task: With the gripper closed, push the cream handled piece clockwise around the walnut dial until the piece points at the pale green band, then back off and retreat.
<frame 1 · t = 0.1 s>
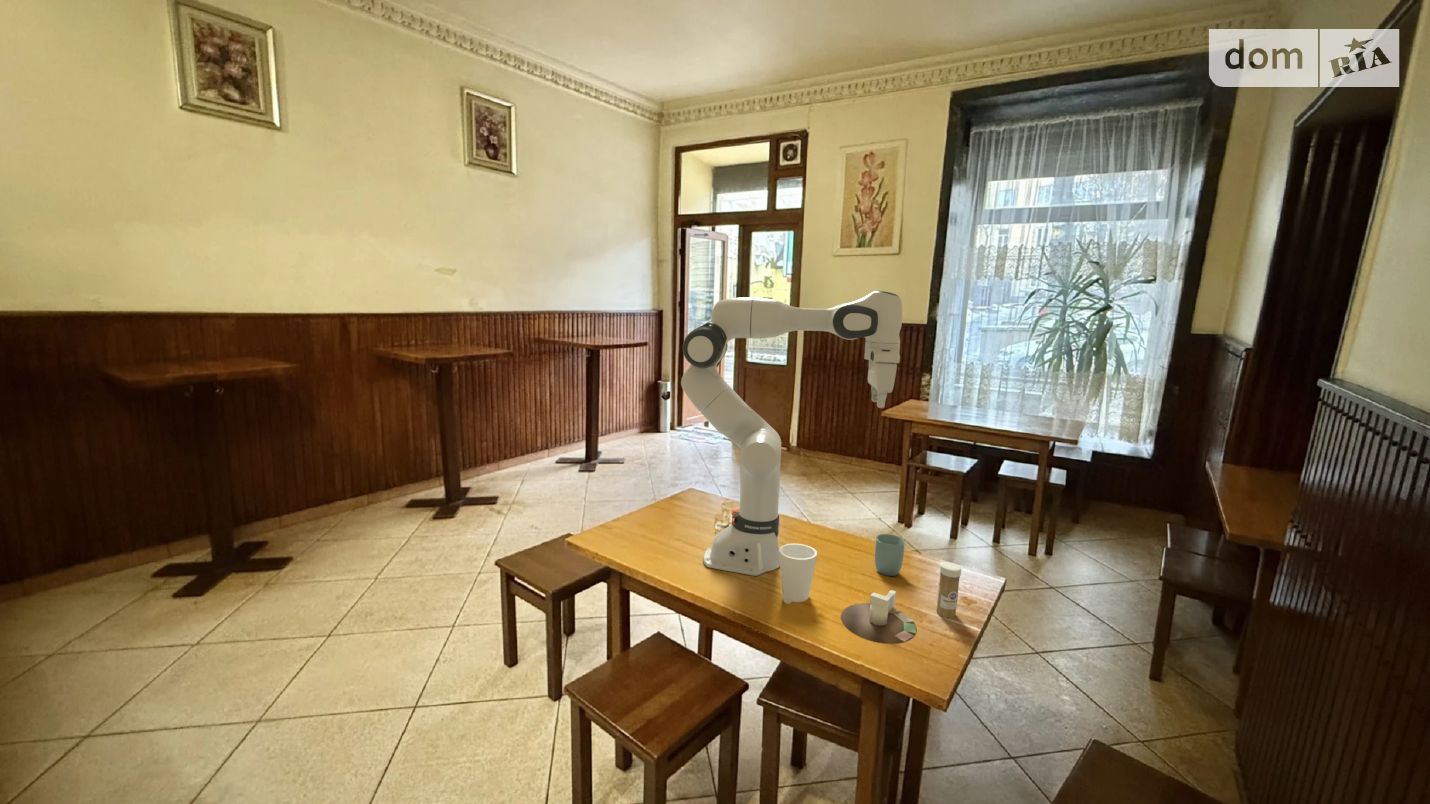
hand: (877, 404, 151), 48 cm above the table, fingers open, 8 cm apart
sprinkles bottle: (945, 618, 135), on the table
cup: (887, 573, 158), on the table
cream handled piece: (884, 602, 133), point 5 cm above the table, hinge at 60.0°
dial: (877, 626, 131), on the table
foam cup: (795, 600, 142), on the table
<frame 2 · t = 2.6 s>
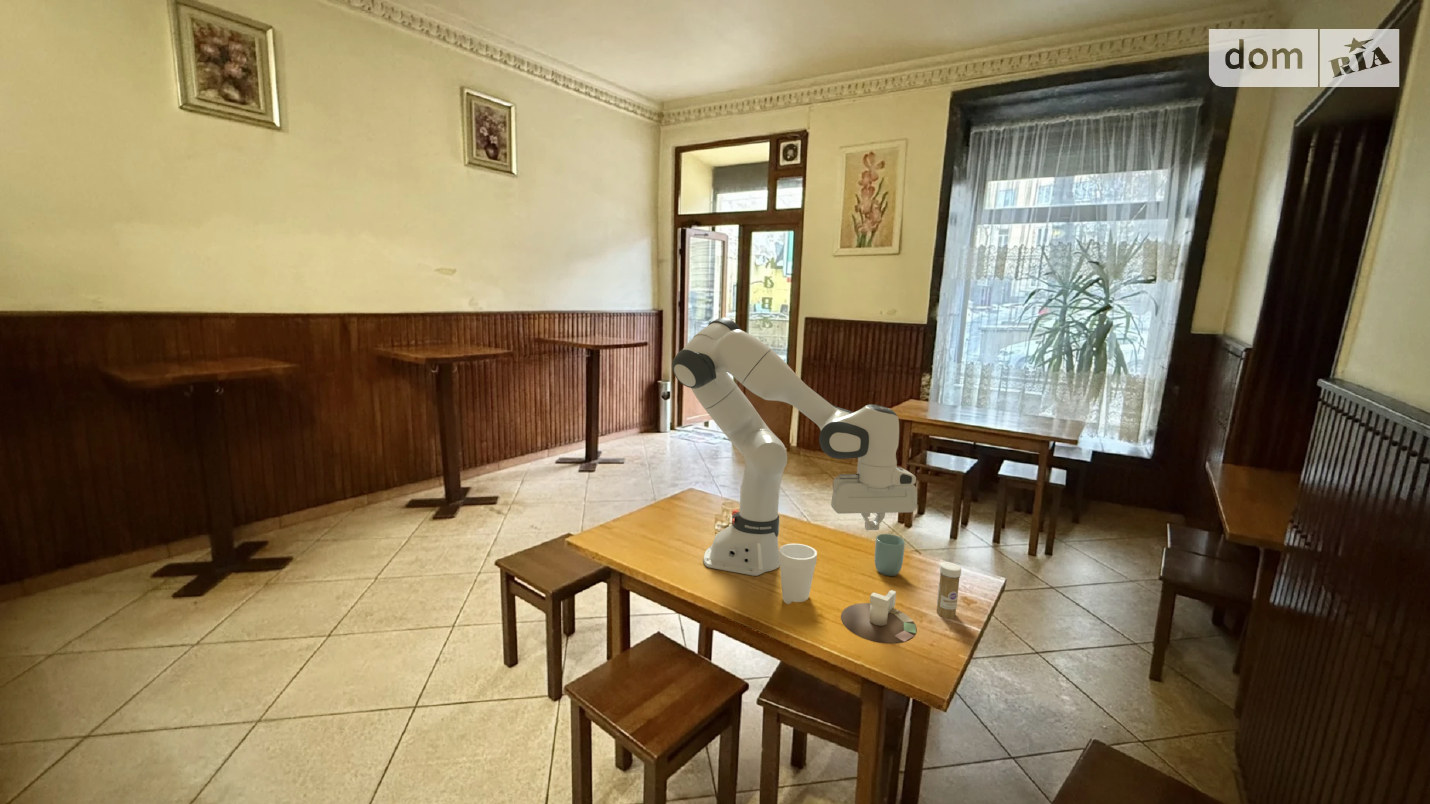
hand: (871, 529, 135), 21 cm above the table, fingers closed
nothing on the table moved.
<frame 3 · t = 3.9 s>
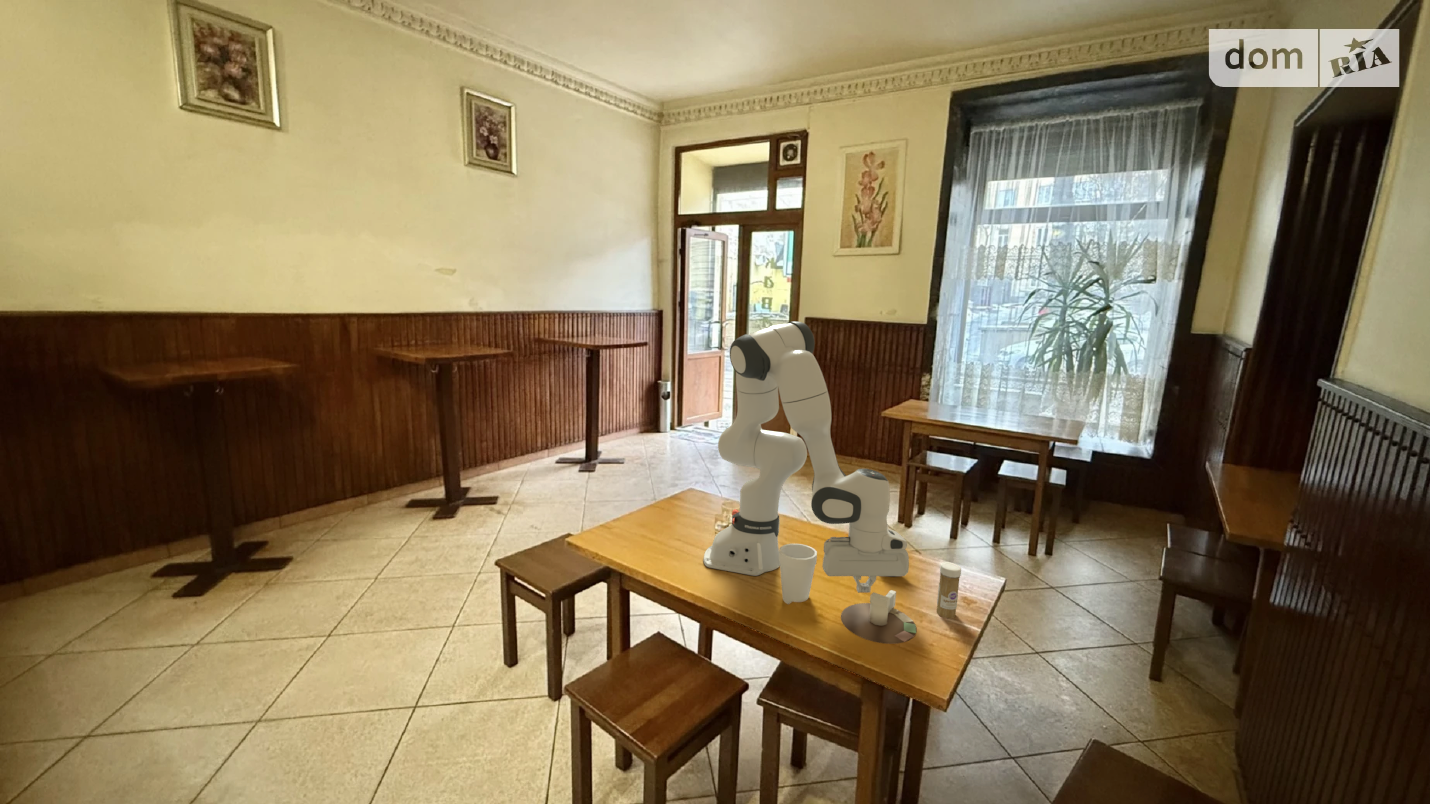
hand: (863, 591, 135), 6 cm above the table, fingers closed
nothing on the table moved.
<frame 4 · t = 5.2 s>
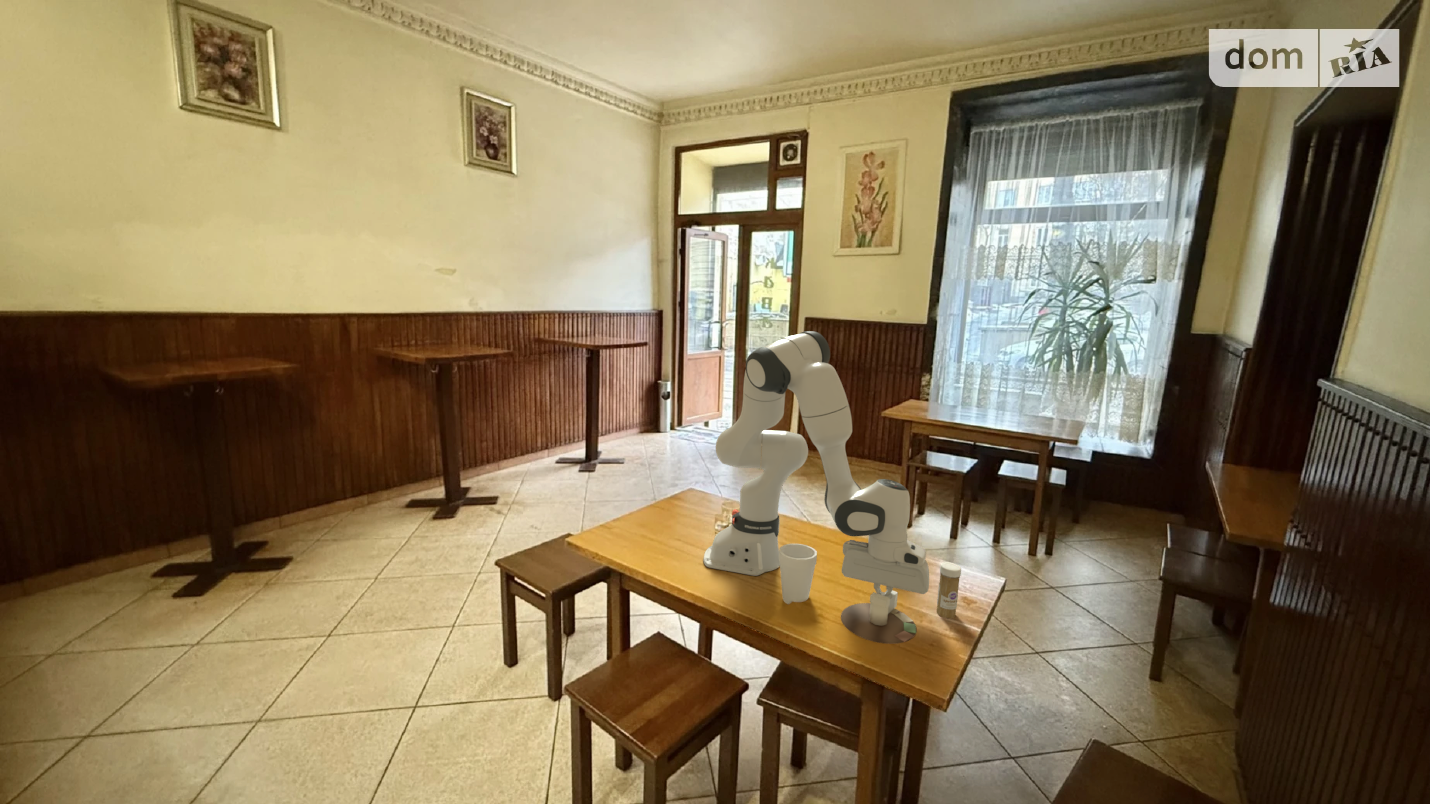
hand: (882, 600, 136), 3 cm above the table, fingers closed
cream handled piece: (885, 602, 133), point 5 cm above the table, hinge at 57.4°, touching gripper
everything else where it was.
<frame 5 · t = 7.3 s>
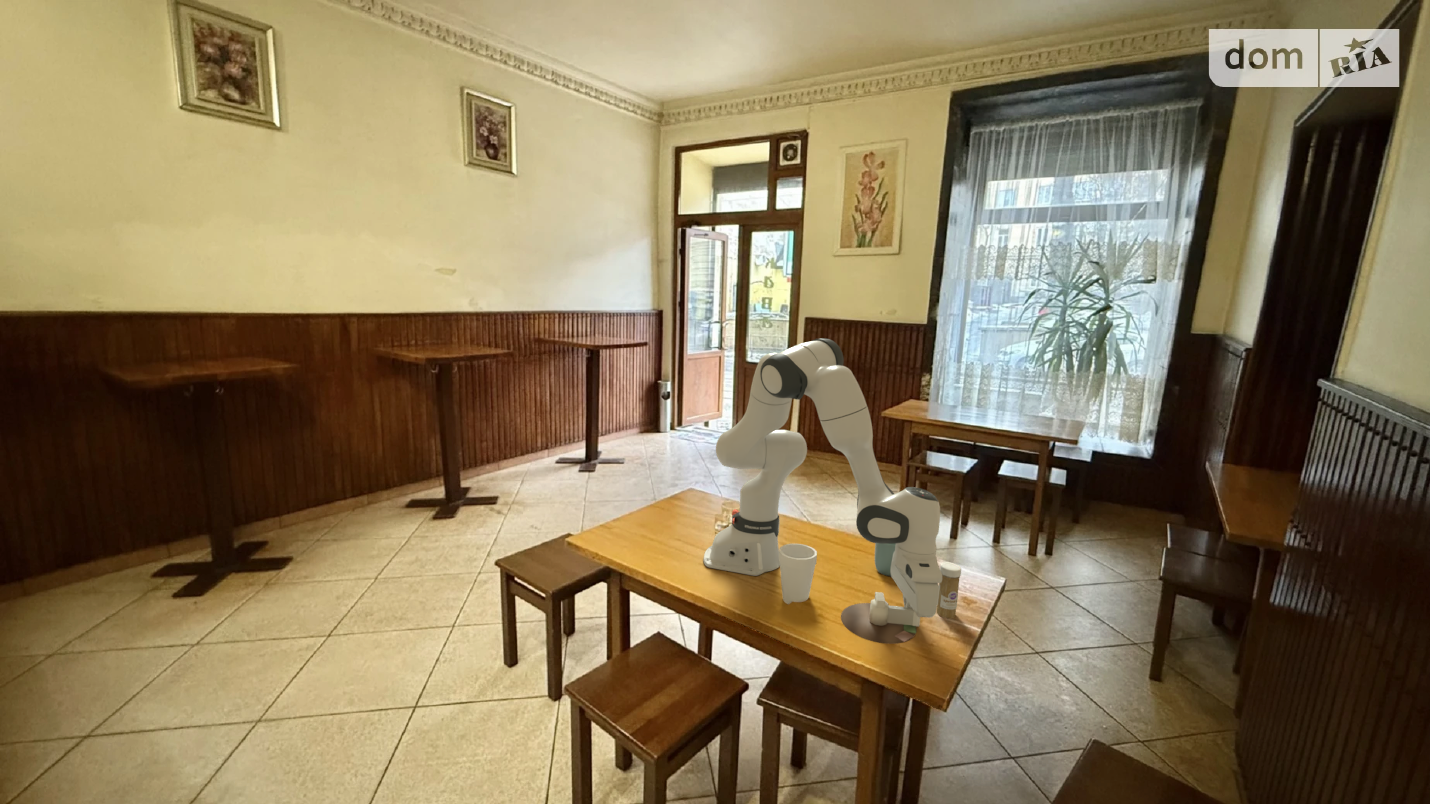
hand: (908, 614, 131), 3 cm above the table, fingers closed, pressing on cream handled piece
cream handled piece: (894, 610, 129), point 5 cm above the table, hinge at -2.0°, touching gripper
everything else where it was.
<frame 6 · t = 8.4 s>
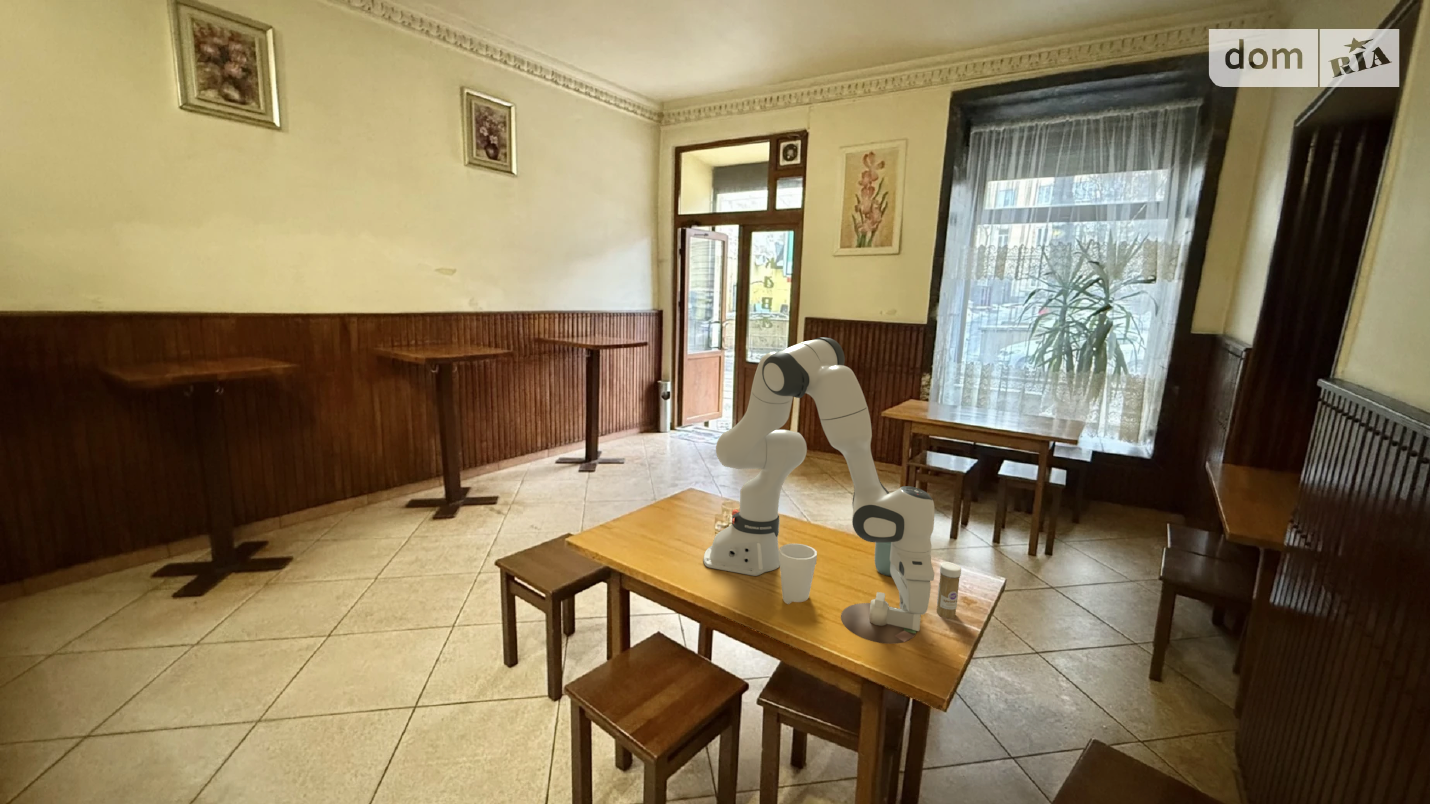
hand: (904, 611, 132), 3 cm above the table, fingers closed
cream handled piece: (895, 612, 129), point 5 cm above the table, hinge at -14.9°
everything else where it was.
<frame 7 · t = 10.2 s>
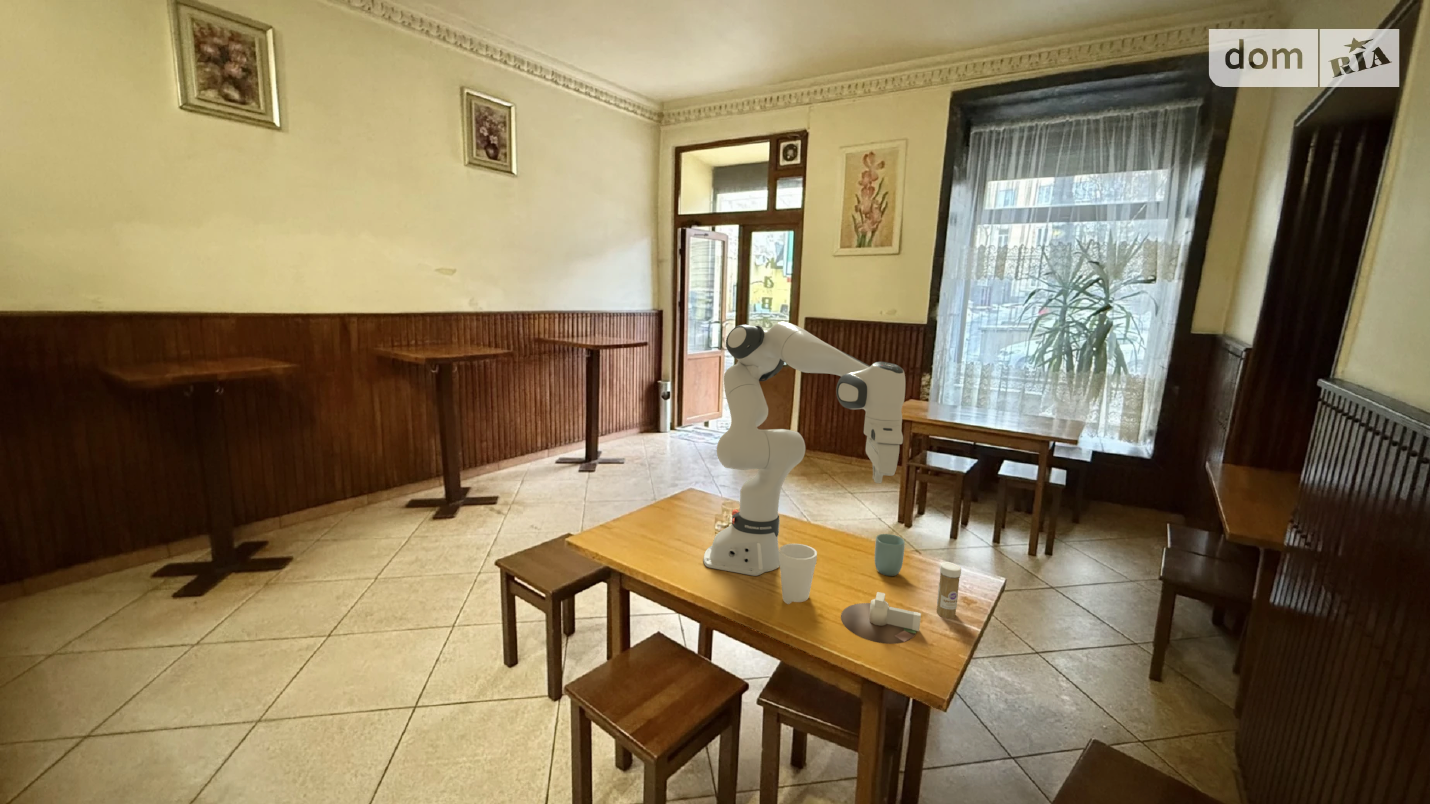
hand: (877, 481, 142), 30 cm above the table, fingers closed
nothing on the table moved.
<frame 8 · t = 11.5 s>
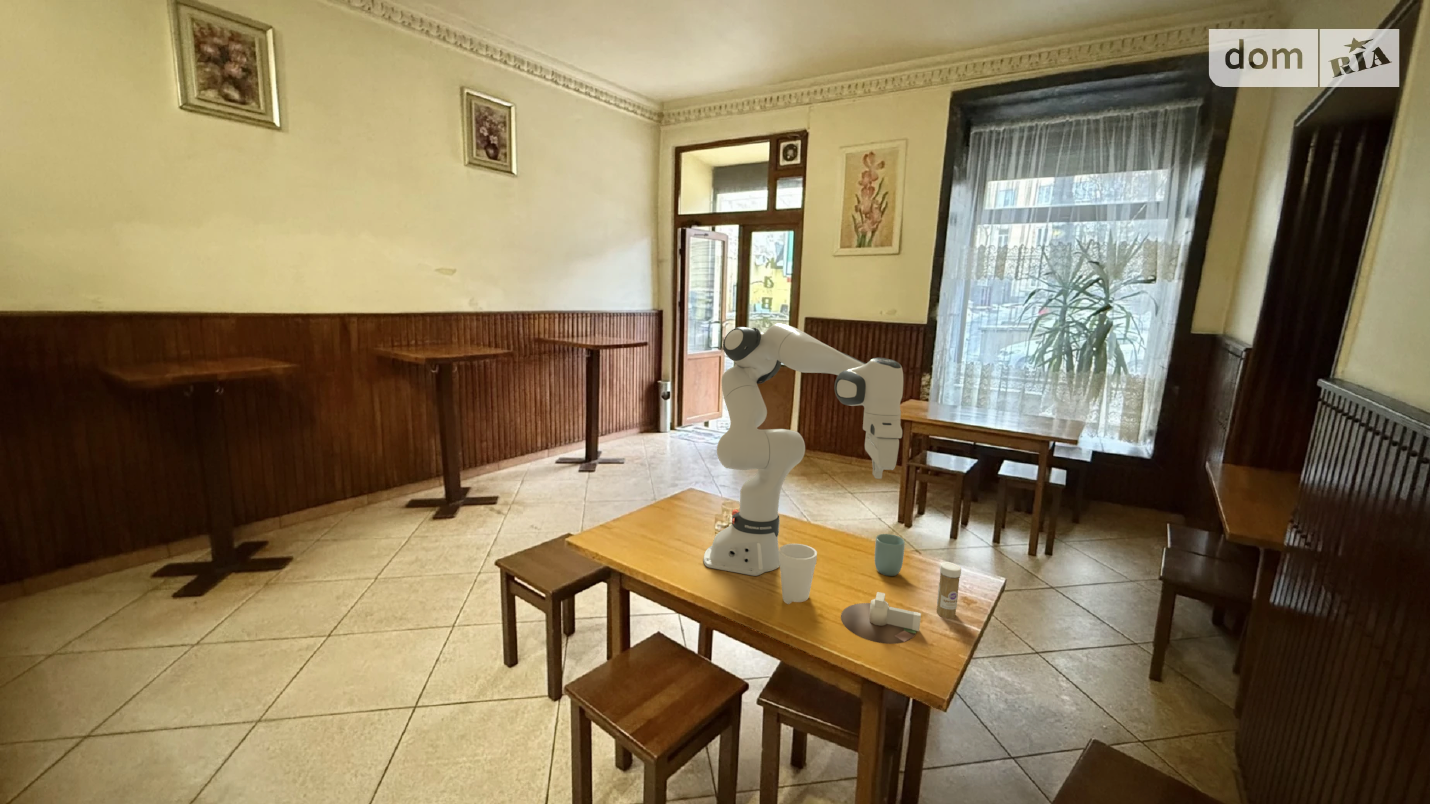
hand: (877, 477, 142), 31 cm above the table, fingers closed
nothing on the table moved.
at the end: cream handled piece at -15° (first picture: +60°); cream handled piece touching nothing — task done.
